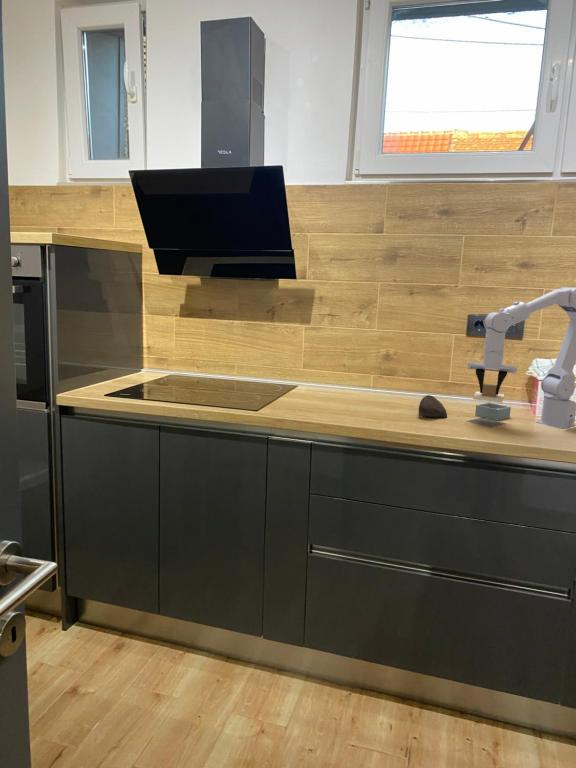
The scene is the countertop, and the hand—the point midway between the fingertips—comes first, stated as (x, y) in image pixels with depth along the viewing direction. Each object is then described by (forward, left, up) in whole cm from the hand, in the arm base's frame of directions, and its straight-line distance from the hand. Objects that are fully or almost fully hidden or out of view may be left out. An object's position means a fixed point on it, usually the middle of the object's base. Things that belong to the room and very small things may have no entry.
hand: (489, 393), depth 180 cm
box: (+3, -10, -10) cm, 14 cm away
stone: (+15, +8, -10) cm, 20 cm away
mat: (0, 0, -10) cm, 10 cm away
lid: (0, 0, -2) cm, 2 cm away
